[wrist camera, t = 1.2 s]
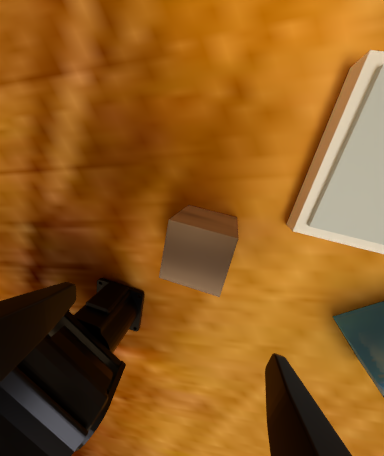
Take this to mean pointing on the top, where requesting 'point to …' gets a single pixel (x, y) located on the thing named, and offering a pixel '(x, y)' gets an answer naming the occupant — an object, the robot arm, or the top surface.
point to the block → (199, 249)
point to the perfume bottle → (366, 338)
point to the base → (349, 165)
